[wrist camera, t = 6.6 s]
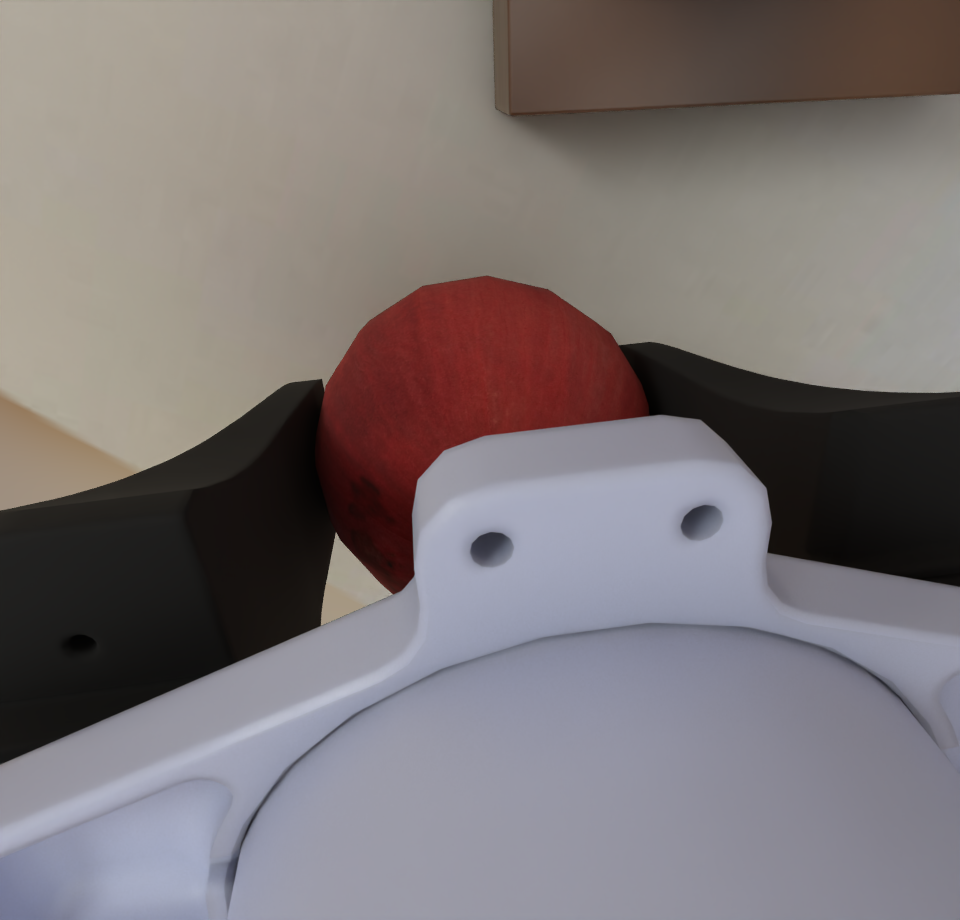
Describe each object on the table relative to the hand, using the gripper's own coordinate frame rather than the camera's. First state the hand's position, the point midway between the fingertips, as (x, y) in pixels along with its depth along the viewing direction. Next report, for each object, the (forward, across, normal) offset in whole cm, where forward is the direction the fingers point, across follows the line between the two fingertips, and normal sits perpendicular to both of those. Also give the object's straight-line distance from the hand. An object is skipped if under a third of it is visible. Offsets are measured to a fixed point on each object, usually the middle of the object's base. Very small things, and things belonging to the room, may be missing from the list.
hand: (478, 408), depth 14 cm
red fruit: (+2, 0, 0) cm, 2 cm away
